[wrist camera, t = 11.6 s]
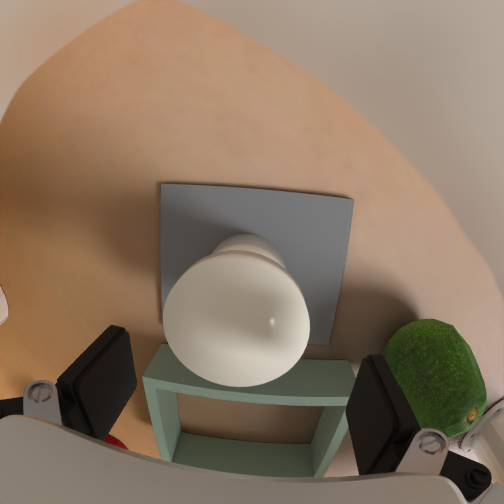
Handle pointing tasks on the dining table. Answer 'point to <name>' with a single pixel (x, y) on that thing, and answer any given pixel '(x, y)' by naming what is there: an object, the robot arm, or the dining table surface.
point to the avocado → (437, 375)
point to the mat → (267, 226)
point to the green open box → (273, 392)
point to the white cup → (3, 307)
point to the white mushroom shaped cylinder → (237, 314)
